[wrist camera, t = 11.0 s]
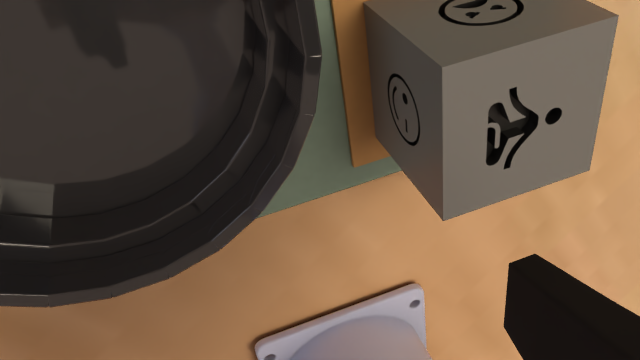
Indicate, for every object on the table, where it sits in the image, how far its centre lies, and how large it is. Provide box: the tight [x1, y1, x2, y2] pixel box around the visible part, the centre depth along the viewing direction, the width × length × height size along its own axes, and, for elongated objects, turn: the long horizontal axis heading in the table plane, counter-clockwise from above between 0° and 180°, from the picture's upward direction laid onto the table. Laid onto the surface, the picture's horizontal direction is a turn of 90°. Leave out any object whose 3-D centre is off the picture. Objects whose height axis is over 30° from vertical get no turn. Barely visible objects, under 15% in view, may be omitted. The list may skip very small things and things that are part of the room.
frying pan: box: [0, 0, 322, 307], centre depth 15 cm, size 13×13×3 cm
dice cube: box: [363, 0, 619, 221], centre depth 18 cm, size 5×5×5 cm
